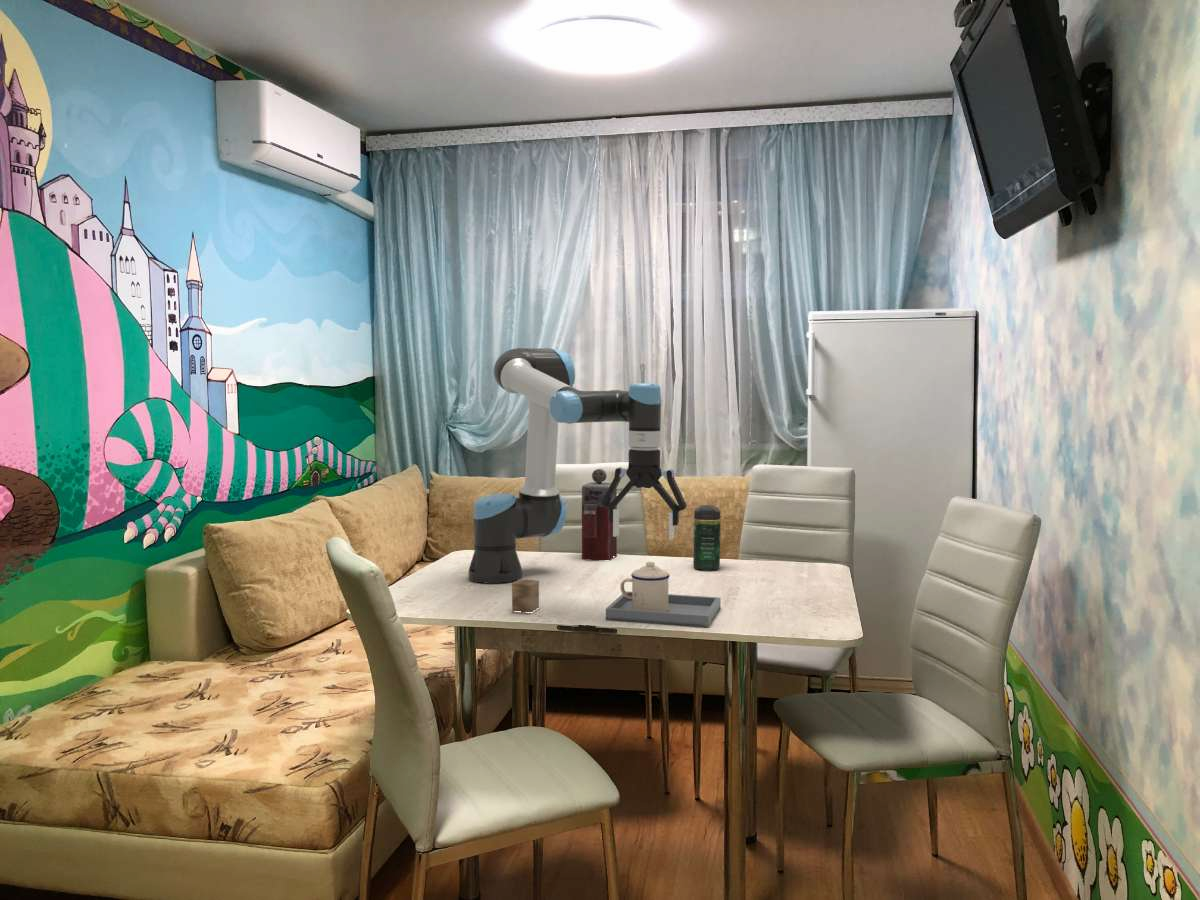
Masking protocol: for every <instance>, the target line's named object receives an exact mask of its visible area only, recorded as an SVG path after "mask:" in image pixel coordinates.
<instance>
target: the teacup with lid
mask: <svg viewBox="0 0 1200 900" xmlns="http://www.w3.org/2000/svg"><path fill="white" fill-rule="evenodd" d="M669 578H670V573H669V572H668V571H667V570H665V569H662V568H660V567H659V566H656V565H655V562H654V561H647V562H646V563H645V565H644V566H642V567H640V568H639V569H638V568H637V569H635V570H633V571H632V572H631V577H630V578H629V577H627V578H624V579H622V581H620V586H619V587H620V593H621V595H622V594H623V595H624V596H625V597H626V598H628V599H632V609H633V610H645V611H659V612H667V611H668V594H669ZM627 582H629V583H631V585H632V589H631V592H632V596H630V595H628V594H627V593H626V592H625V591H626V590H625V583H627Z"/></svg>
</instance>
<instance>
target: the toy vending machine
mask: <svg viewBox="0 0 1200 900" xmlns="http://www.w3.org/2000/svg"><path fill="white" fill-rule="evenodd" d="M607 474H608V473H607V472H606V471H605V470H604V468H597V469H595V470H593V471H592V474H591V478H592V480H593V481H591V482H588V483H585V484H582V486H581V560H582V559H591V560H590V561H599V560H610V561H612V560H613V559H614V558H613V556H616V557H617V553H618V551H617V549H618V548H617V545H618V544H617V543H618V542H617V538H618V536H616V537H614V536H613V522H610V521H609V508H608V507H606V506H603V505H602V501H603V499H604V497H605V495H606V493H607V491H608V489H609V487H610V485H611V483H612V482H605V481H606V479H607ZM617 489H618V487H617V488H616V490H615V492H614V494H613V496H612V498H611V500H610V502H612V501H613V500H614V499H615V498H616V497H617V495H618V491H617ZM616 508H618V505H617V506H616ZM612 558H613V559H612ZM611 559H612V560H611Z"/></svg>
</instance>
